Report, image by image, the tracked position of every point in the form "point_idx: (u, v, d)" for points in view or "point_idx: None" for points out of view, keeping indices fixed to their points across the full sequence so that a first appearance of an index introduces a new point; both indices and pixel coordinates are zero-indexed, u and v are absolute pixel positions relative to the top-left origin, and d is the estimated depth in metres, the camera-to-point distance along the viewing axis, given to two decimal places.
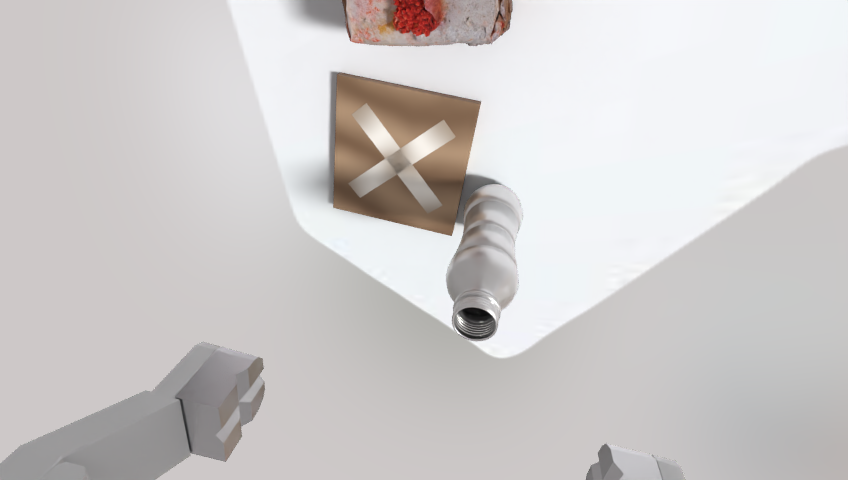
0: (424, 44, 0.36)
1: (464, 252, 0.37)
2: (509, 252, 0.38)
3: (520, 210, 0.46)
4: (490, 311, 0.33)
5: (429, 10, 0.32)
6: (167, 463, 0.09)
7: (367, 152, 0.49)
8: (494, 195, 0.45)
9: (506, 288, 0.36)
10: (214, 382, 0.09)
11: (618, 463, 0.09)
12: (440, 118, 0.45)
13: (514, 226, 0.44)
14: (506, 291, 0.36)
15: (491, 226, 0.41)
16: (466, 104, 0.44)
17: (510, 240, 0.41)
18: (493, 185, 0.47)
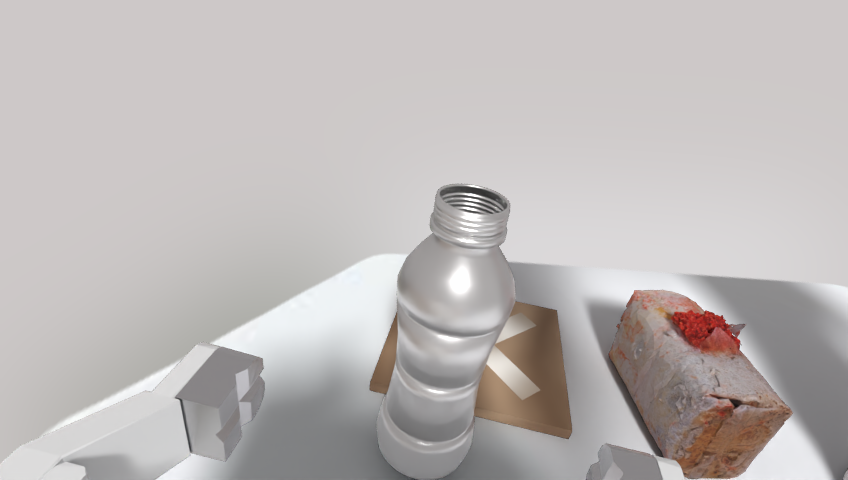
0: (657, 345, 0.35)
1: None
2: (492, 340, 0.23)
3: (446, 459, 0.28)
4: (503, 213, 0.21)
5: (714, 332, 0.33)
6: (167, 463, 0.09)
7: None
8: None
9: (484, 283, 0.22)
10: (214, 382, 0.09)
11: (618, 463, 0.09)
12: (540, 387, 0.37)
13: (454, 418, 0.26)
14: (480, 280, 0.21)
15: None
16: (567, 415, 0.35)
17: (473, 375, 0.25)
18: None
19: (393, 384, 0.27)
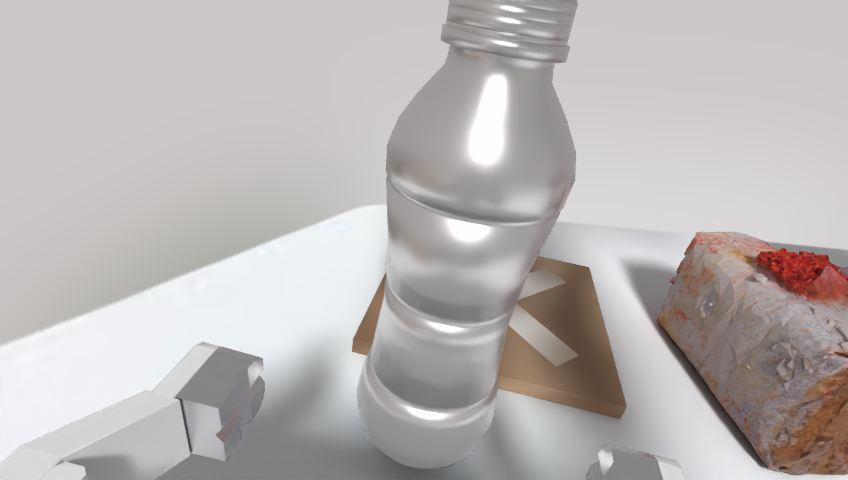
0: (739, 295, 0.26)
1: None
2: (538, 238, 0.15)
3: (457, 438, 0.19)
4: None
5: (824, 273, 0.24)
6: (167, 463, 0.09)
7: None
8: None
9: (533, 127, 0.13)
10: (214, 382, 0.09)
11: (618, 463, 0.09)
12: (578, 352, 0.28)
13: (472, 373, 0.17)
14: (527, 121, 0.13)
15: None
16: (617, 387, 0.26)
17: (504, 301, 0.16)
18: None
19: (381, 324, 0.18)
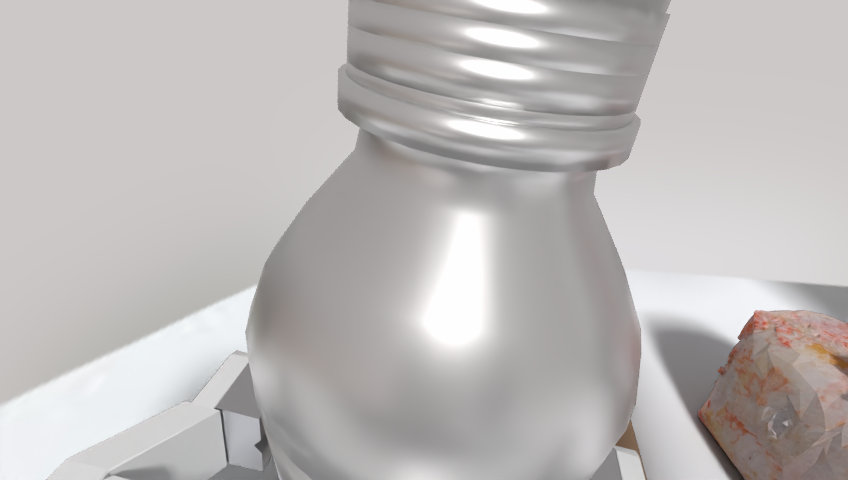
0: (833, 421, 0.18)
1: None
2: None
3: None
4: None
5: None
6: (205, 474, 0.09)
7: None
8: None
9: (557, 327, 0.05)
10: (253, 392, 0.09)
11: None
12: None
13: None
14: (540, 314, 0.05)
15: None
16: None
17: None
18: None
19: None
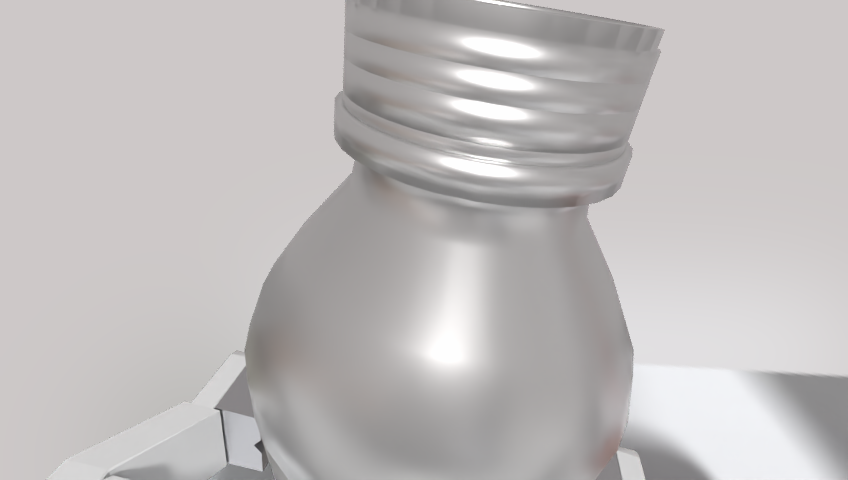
0: None
1: None
2: None
3: None
4: (653, 36, 0.04)
5: None
6: (205, 474, 0.09)
7: None
8: None
9: (548, 355, 0.05)
10: None
11: None
12: None
13: None
14: (533, 344, 0.05)
15: None
16: None
17: None
18: None
19: None
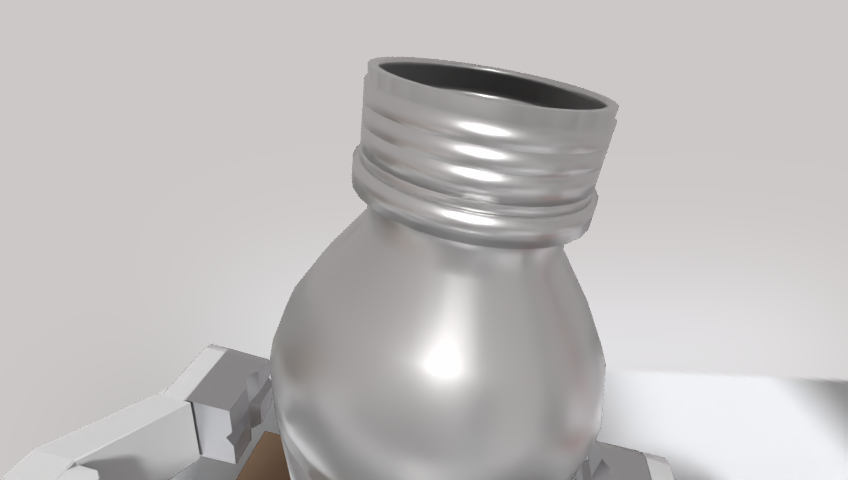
0: None
1: None
2: None
3: None
4: (607, 117, 0.06)
5: None
6: (177, 466, 0.09)
7: None
8: None
9: (528, 368, 0.06)
10: (225, 385, 0.09)
11: (607, 460, 0.09)
12: None
13: None
14: (515, 359, 0.06)
15: None
16: None
17: None
18: None
19: None
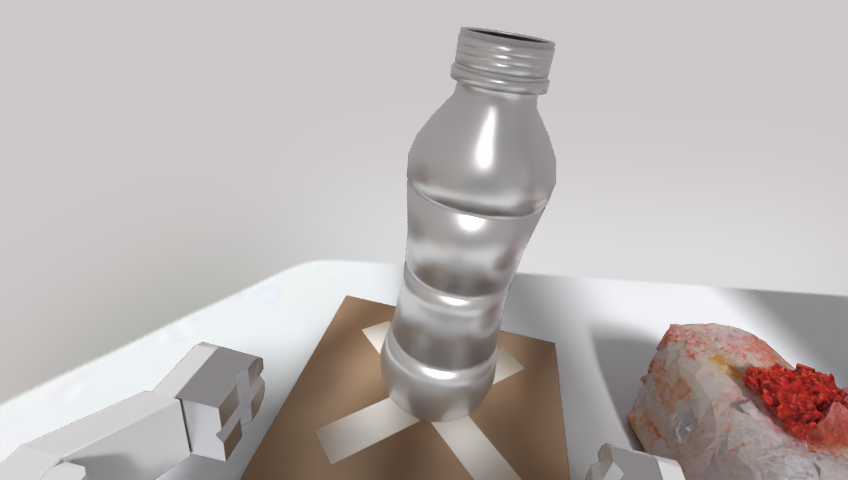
0: (722, 427, 0.20)
1: None
2: (527, 228, 0.19)
3: (464, 394, 0.23)
4: (548, 45, 0.16)
5: (831, 412, 0.18)
6: (167, 463, 0.09)
7: None
8: None
9: (522, 144, 0.17)
10: (214, 382, 0.09)
11: (618, 463, 0.09)
12: None
13: (475, 339, 0.21)
14: (516, 139, 0.17)
15: None
16: None
17: (501, 279, 0.20)
18: None
19: (401, 301, 0.22)
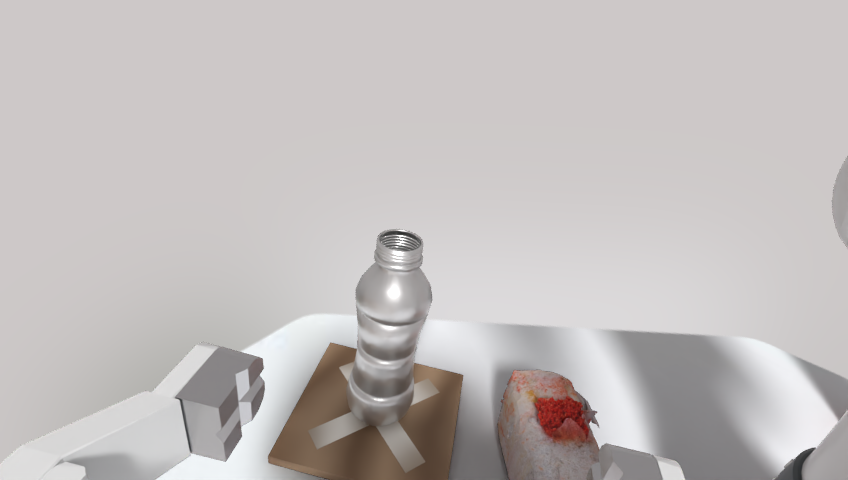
0: (521, 430, 0.38)
1: None
2: (415, 328, 0.37)
3: (391, 410, 0.41)
4: (416, 250, 0.34)
5: (564, 423, 0.36)
6: (167, 463, 0.09)
7: None
8: (413, 384, 0.43)
9: (406, 293, 0.35)
10: (214, 382, 0.09)
11: (618, 463, 0.09)
12: (426, 458, 0.41)
13: (395, 381, 0.40)
14: (404, 291, 0.35)
15: (417, 342, 0.40)
16: None
17: (405, 351, 0.38)
18: None
19: (356, 359, 0.41)
